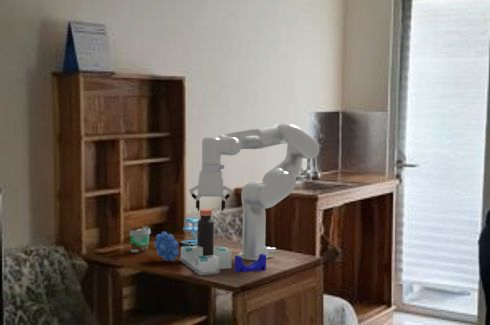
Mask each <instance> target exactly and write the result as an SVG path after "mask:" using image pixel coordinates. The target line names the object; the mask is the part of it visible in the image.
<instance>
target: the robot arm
mask: <svg viewBox="0 0 490 325" xmlns="http://www.w3.org/2000/svg"><path fill="white" fill-rule="evenodd" d="M201 142H202V143H201V170H199V172H198V174H199V175H198V182H197V185H195V186H193V187H191V188H190V189H189V194H190V195H191V197H192V198H193V199H194V200H195V209H197V212H198V211H199V212H200V210H201V208H200V207H201V206H200V202H201V201H200V199H201V198H202V197H219V198H220V199H221V203H220V204H221V211H222V212H223V211H224V209H226V201H227V200H228V199H229V198H230V196H231V195H232V192H233V189H231V188H230V187H227V186H226V185H224V175H223V171H222V170H223V169H225V165H222V163H221V162H222V161H221V158H222V157H221V155H222V156H223V155H224V156H230V157H231V156H232V157H233V156H236V155H238V154H239V153H241V152H240V151H241V150H261V149H265V148H269V147H274V146H279V145H287V147H286V155H285V158H284V159H283V161H281V162H280V163H278V164H277V165H275V167H273V168H272V169H271V170H269V171H267V172H266V173H265V174H264V175H263V176H262V183H260V182H256V181H255V182H253V181H252V182H251V181H250V182H248V183H246V184H244V186H243V187H242V189H241V195H240V196H241V205H242V249H241V250H242V251H241V252H239V253H238V256H240V257H242V260H245V261H257V260H258V258H259V254H265V255H266V260H268V259H269V254H270V253H275V252H276V251H277V249H276V247H270V246H266V226H267V225H266V222H267V221H266V220H267V219H266V217H267V215H266V209H269V208H272V207H274V206H276V205H277V204H278V203H280V202H281V201H282V200H284V199H285V198H287V197H288V196H289V195H290V194H291V193H293V191H294V190H295V187H296V185H297V184H296V183H297V179H296V177H297V176H298V175H299V174H300V172H301V170H302V166H303V159H304V160H305V159H306V160H312V159H315V158H317V157H318V155H319V153H320V145H319V143H318V141H317V140H316V139H315V138H314V137H312V136H311V135H310V134H308V133H307V132H306V131H304V130H302V129H301V128H300V127H299V126H297V125H295V124H291V123H276V124H272V125H268V126H267V125H266V126H263V127H258V128H253V129H246V130H242V131H234V132H230V133H224V134H220V135H217V136H214V137H213V136H207V137H203V138H202V141H201ZM224 190H225V191H226V192H227V194H225V195H224V192H225V191H224ZM194 191H197V193H198V194H197V195H196V194H195V192H194Z"/></svg>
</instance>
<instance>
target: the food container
mask: <svg viewBox="0 0 490 325" xmlns="http://www.w3.org/2000/svg"><path fill="white" fill-rule="evenodd" d="M141 227H142V228H137V229H135V230H130V231H129V237H130V251H131V252H130V253H131V254H145V252H146V253H148V251H149V242H150V235H151V234H152V232H151V228H150V227H149V226H145V225H142V226H141Z"/></svg>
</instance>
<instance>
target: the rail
mask: <svg viewBox="0 0 490 325" xmlns="http://www.w3.org/2000/svg"><path fill="white" fill-rule="evenodd" d="M179 261H180V262H181V261H182V262H183V264H184V265H185V264H186V265H185V266H186V267H188V268H189V267H190V270H192V271H193V270H194V272H195V273H196V274H198V275H199V276H204V275H205V276H206V275H216V274H220V270H221V269H219V257H217V256H216V255H211V256H203V247H201V246H197V245H194V246H190V245H186V246H181V247H180V257H179ZM182 262H181V263H182Z"/></svg>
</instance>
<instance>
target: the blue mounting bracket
mask: <svg viewBox="0 0 490 325" xmlns="http://www.w3.org/2000/svg"><path fill="white" fill-rule="evenodd" d="M266 270H267V259H266V255H265V254H259V258H258V260H253V262H252V263H250V264H247V265H246V264H244V262H243V259H242V257H240V256H239V255H235V256H234V272H236V273H238V274H239V273H246V272H247V273H248V272H257V271H266Z"/></svg>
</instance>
